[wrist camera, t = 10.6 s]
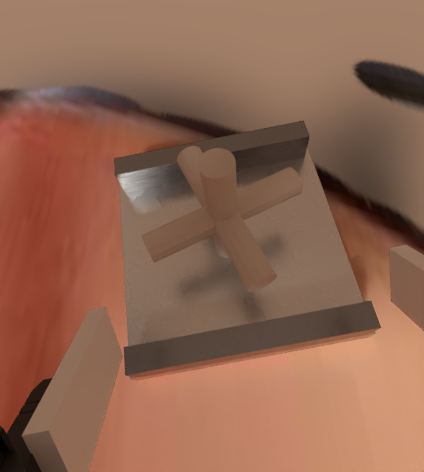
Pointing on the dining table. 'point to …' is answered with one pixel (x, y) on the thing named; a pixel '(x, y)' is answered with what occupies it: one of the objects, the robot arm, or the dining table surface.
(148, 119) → the dining table surface
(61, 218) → the dining table surface
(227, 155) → the pipe connector
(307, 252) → the cradle plate
